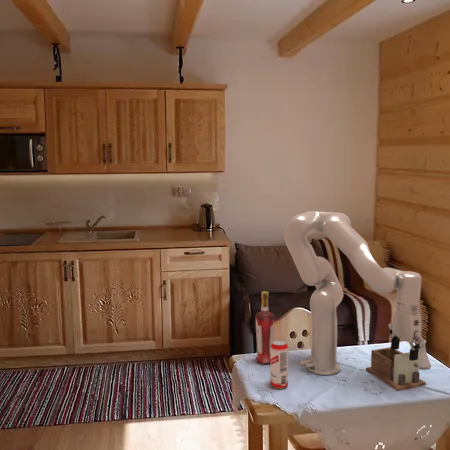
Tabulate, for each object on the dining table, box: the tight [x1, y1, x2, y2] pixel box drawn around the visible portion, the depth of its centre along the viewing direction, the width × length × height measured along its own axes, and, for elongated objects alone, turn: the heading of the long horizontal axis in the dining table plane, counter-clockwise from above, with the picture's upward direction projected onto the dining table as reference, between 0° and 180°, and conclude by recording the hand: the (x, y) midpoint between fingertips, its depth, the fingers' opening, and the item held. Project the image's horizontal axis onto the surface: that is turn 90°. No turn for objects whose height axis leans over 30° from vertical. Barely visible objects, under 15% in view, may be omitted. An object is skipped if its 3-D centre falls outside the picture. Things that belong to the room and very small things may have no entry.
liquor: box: [254, 291, 275, 365], centre depth 198 cm, size 7×7×28 cm
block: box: [393, 351, 420, 384], centre depth 178 cm, size 9×3×10 cm, turn 110°
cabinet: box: [365, 346, 427, 392], centre depth 184 cm, size 12×18×8 cm, turn 20°
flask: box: [418, 339, 432, 370], centre depth 194 cm, size 7×7×10 cm
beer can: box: [269, 339, 289, 390], centre depth 178 cm, size 6×6×16 cm
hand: (403, 354), depth 178 cm, fingers open, 9 cm apart
